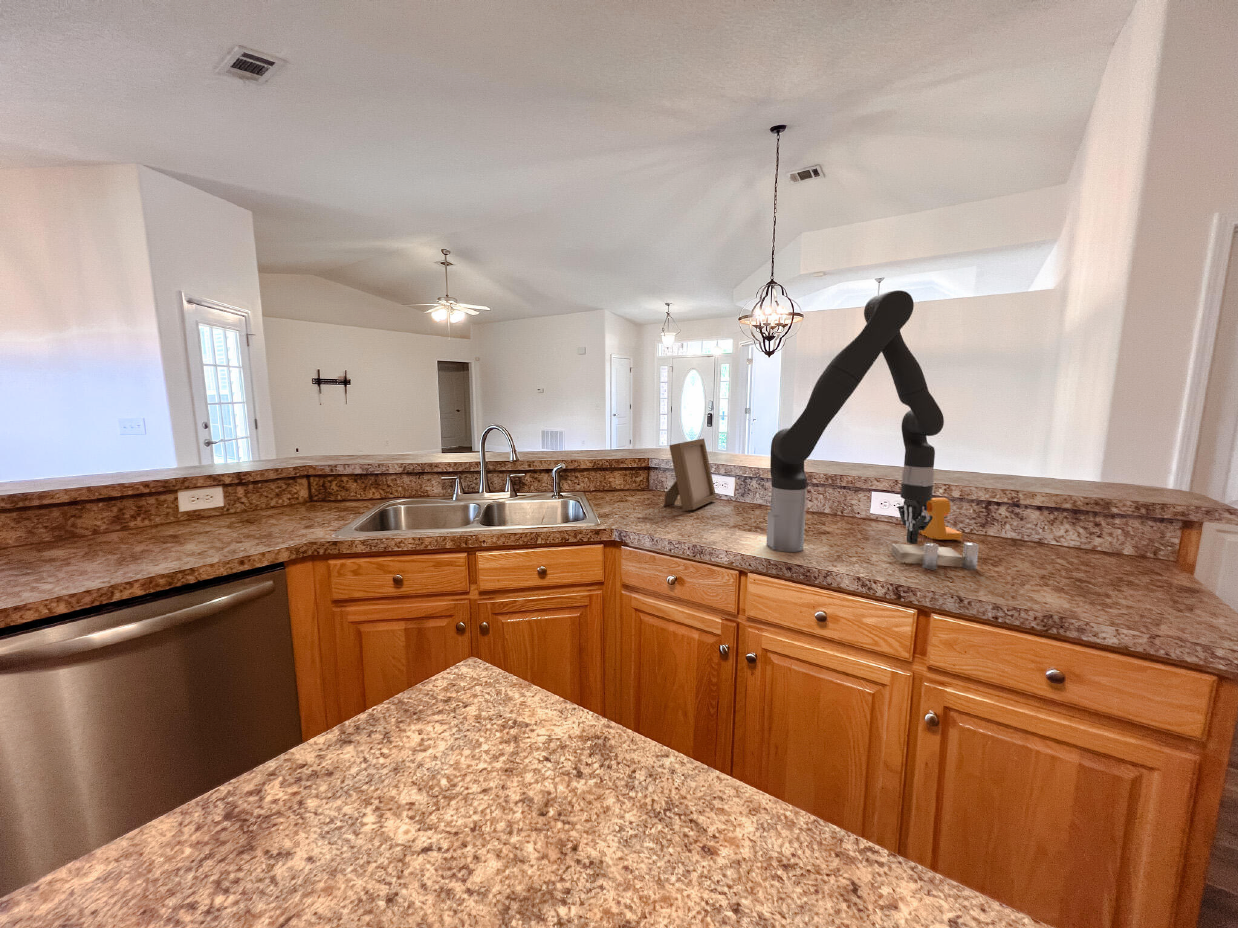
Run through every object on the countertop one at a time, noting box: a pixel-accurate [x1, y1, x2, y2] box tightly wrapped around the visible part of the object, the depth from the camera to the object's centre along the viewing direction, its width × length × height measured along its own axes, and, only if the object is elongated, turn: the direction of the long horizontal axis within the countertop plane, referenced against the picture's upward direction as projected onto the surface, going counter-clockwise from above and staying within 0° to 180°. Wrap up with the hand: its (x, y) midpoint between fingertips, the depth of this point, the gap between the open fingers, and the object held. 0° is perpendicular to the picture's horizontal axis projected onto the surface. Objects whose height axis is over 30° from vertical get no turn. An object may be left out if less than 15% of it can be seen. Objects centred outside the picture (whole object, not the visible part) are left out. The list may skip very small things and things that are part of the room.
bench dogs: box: [921, 541, 980, 571], centre depth 125 cm, size 13×3×6 cm, turn 91°
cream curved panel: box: [891, 543, 963, 568], centre depth 131 cm, size 14×8×3 cm, turn 76°
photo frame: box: [663, 438, 717, 512], centre depth 194 cm, size 15×22×25 cm
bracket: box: [919, 497, 963, 540], centre depth 152 cm, size 11×7×12 cm, turn 2°
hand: (911, 543), depth 141 cm, fingers closed
